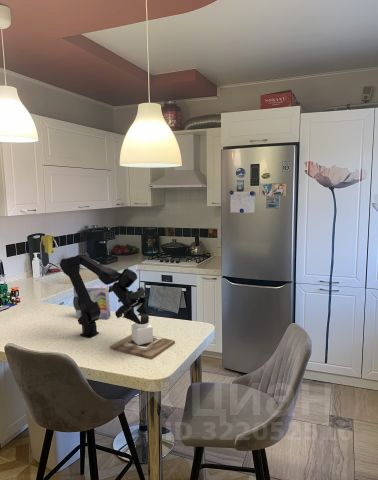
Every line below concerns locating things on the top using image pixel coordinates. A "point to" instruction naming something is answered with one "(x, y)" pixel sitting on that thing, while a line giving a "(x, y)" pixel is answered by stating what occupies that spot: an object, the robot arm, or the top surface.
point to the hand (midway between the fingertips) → (144, 321)
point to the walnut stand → (143, 346)
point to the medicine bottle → (142, 330)
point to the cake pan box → (95, 300)
